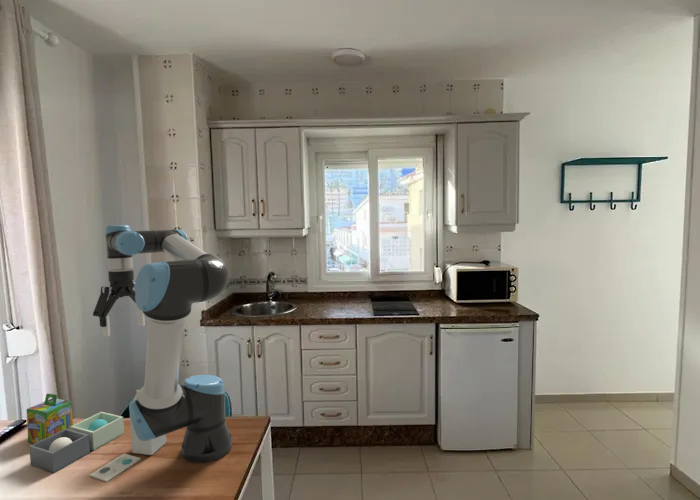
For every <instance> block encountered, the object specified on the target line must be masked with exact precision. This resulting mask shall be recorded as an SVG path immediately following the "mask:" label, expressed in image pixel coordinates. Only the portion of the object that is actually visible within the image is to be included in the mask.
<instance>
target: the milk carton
mask: <svg viewBox="0 0 700 500" xmlns="http://www.w3.org/2000/svg"><path fill="white" fill-rule="evenodd" d="M139 390H140V389H136V391H135V392H136V394H135V395H134V397H133V399H132V401H133V400H137V397H138V392H139ZM129 421H130V422H129V425H130V437H131V438H130V440H131V442H130V443H131V452H132V454H137V455H138V454H140V455H146V456H152V455H154V454H155V453H157V451H158V450H159V449H161V448H162V447H163V446H165V445H166V444H167V434H165V435H163V436H160V437H157V438H155V439H151V440H147V441H141V440H139V438H138V437H137V435H136V433H135V430H134V427H133V424H132V421H131V417H130V416H129Z"/></svg>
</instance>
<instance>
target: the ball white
mask: <svg viewBox="0 0 700 500" xmlns="http://www.w3.org/2000/svg"><path fill="white" fill-rule="evenodd" d="M70 443H72V441H71V439H69V438H67V437H61V438H58V439H56V440H55V441H53V442H52V444H51V445H50V447H49V451H51V452H54V451H56V450H58V449H60V448H62V447H64V446H66V445H68V444H70Z"/></svg>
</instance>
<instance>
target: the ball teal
mask: <svg viewBox="0 0 700 500" xmlns="http://www.w3.org/2000/svg"><path fill="white" fill-rule="evenodd" d="M107 424H108V423H107V421H105V420H103V419H97V420H95V421H93V422H92V423H91V424H90V425H89V427H88V430H90V431H95V430H97V429H99V428H101V427H103V426H105V425H107Z"/></svg>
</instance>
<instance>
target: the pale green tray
mask: <svg viewBox="0 0 700 500" xmlns="http://www.w3.org/2000/svg"><path fill="white" fill-rule="evenodd" d="M97 419H103V420H105V421H107V423H108V424H107V425H105V426H103V427H101V428H99V429H97V430H95V431H90V430H88V427H89V425H90V424H91V423H92V422H93V421H95V420H97ZM124 423H125V422H124V416H123V415H122V416H121V415H117V414H112V413H108V412H104V411H99V412H98V413H95V414H93V415H92V416H90V417H88V418H86V419H84V420H81V421H79V422H77V423H75V424H73V426H71V427H70V430H73V431H77V432H80V433H84V434H88V435H89V446H90V451H96V450H98V449H99V448H101V447H103V446H105V445H107V444H109V443H110V442H112V441H115V439H118V438H119V437H122V436H123V435H125V425H124Z"/></svg>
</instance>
